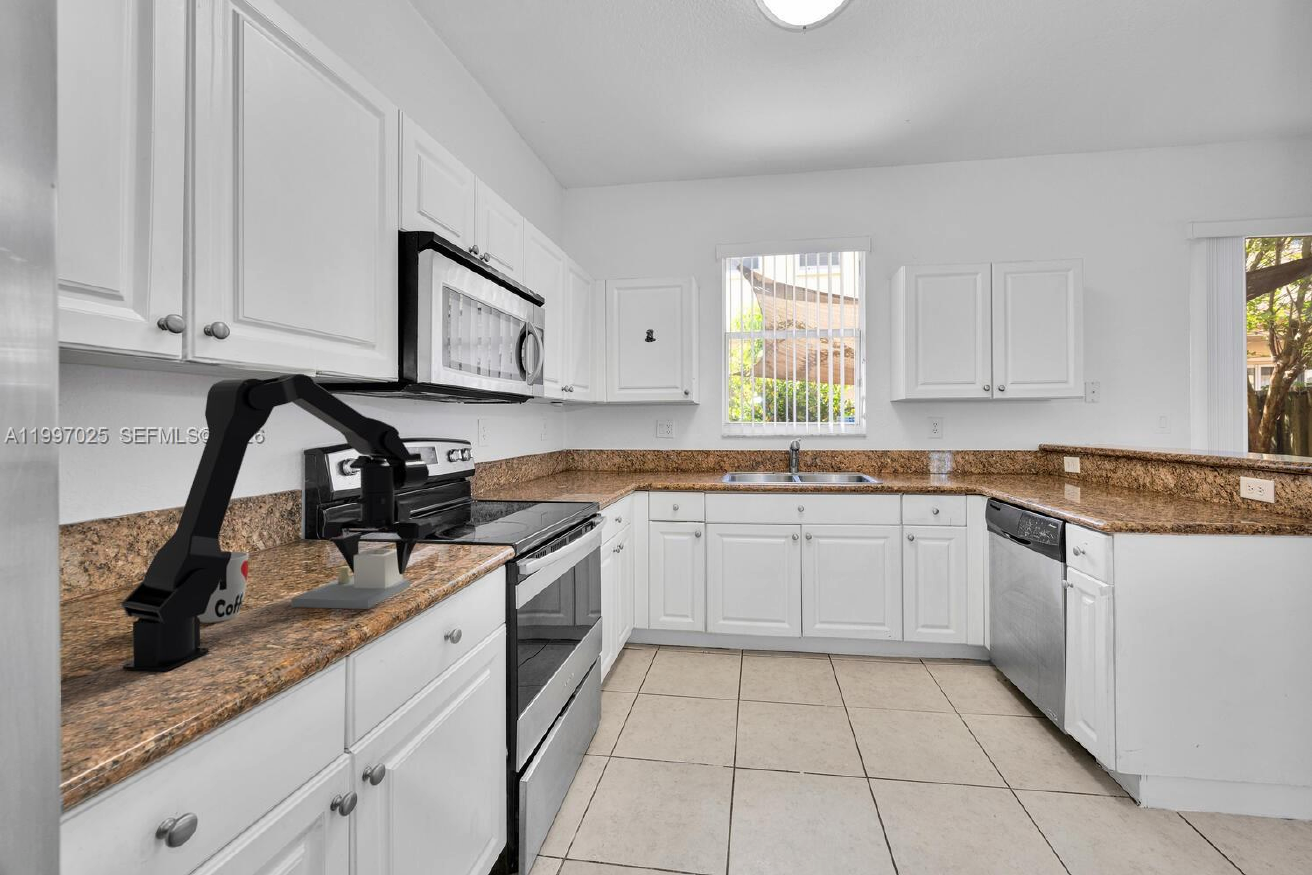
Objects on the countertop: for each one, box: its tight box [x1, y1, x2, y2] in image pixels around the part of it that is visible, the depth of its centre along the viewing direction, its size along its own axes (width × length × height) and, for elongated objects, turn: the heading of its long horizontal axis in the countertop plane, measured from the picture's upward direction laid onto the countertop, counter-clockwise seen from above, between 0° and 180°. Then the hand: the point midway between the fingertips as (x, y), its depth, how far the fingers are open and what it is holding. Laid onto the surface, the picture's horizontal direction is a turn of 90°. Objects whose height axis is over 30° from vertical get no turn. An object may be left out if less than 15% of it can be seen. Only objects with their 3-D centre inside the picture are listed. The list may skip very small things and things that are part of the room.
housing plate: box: [290, 565, 411, 610], centre depth 106 cm, size 14×14×4 cm
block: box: [353, 548, 403, 589], centre depth 108 cm, size 6×6×6 cm
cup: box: [198, 551, 250, 624], centre depth 94 cm, size 8×8×10 cm
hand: (378, 573), depth 108 cm, fingers open, 9 cm apart
